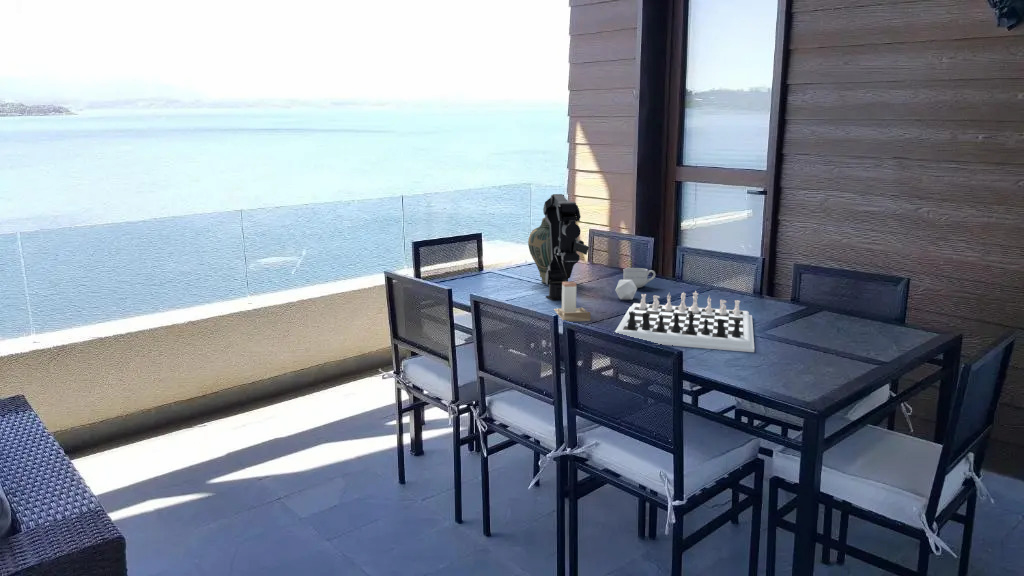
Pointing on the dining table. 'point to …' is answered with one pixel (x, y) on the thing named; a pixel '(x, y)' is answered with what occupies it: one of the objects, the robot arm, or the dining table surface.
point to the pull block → (569, 296)
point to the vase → (541, 247)
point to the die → (626, 289)
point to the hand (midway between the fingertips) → (565, 275)
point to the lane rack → (574, 315)
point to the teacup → (637, 276)
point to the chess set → (689, 325)
